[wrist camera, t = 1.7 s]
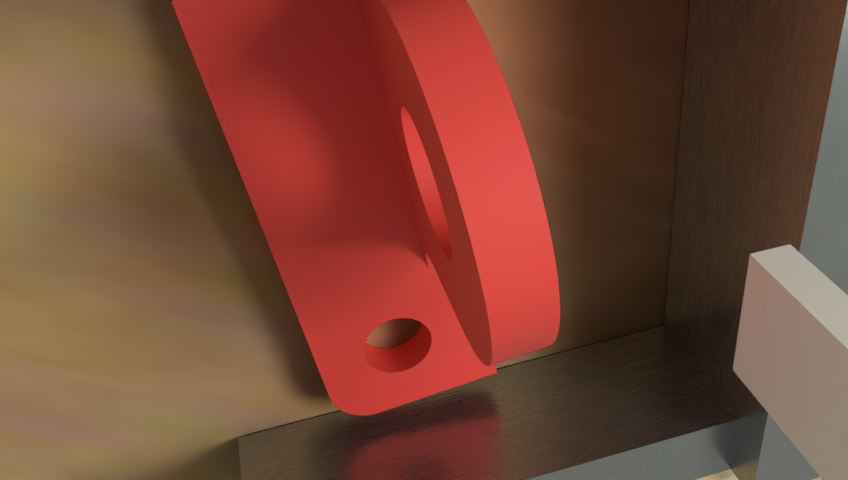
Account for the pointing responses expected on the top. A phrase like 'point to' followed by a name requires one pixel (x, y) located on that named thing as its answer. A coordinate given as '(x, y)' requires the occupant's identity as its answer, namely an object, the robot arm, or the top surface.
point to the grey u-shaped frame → (685, 305)
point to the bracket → (384, 185)
